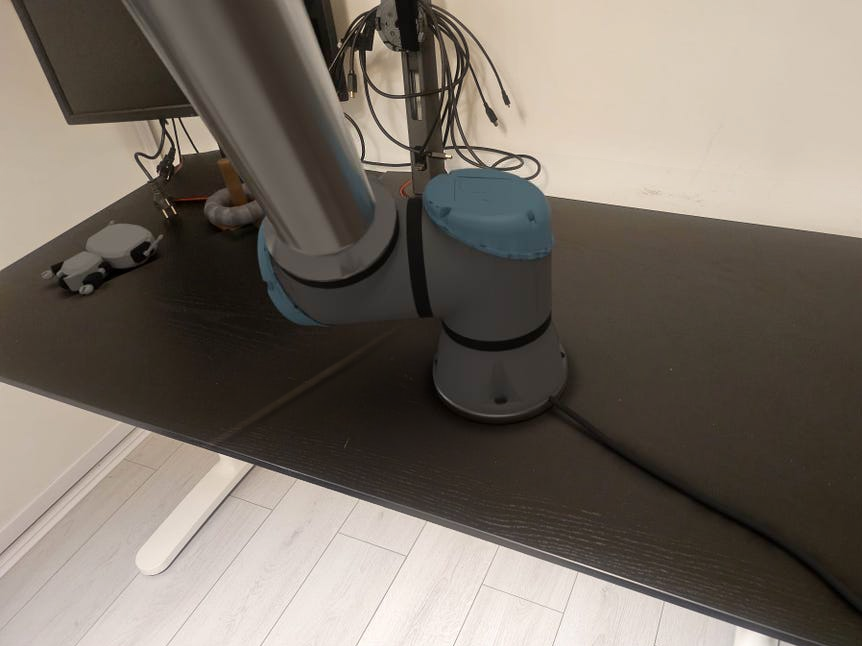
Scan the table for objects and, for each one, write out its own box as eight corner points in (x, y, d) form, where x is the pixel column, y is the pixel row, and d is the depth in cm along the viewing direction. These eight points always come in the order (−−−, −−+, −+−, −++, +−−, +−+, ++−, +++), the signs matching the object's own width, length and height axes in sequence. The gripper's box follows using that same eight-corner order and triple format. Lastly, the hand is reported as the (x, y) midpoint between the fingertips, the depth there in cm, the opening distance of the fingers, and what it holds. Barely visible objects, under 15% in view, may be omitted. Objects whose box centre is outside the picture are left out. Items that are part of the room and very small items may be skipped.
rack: (282, 217, 104) (264, 157, 97) (235, 238, 99) (211, 177, 93) (256, 202, 109) (236, 144, 102) (209, 222, 105) (186, 163, 98)
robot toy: (96, 311, 88) (177, 253, 97) (78, 286, 85) (163, 229, 93) (47, 291, 93) (128, 238, 102) (28, 267, 90) (113, 214, 98)
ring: (291, 208, 103) (286, 192, 101) (228, 236, 97) (222, 219, 95) (257, 190, 109) (252, 174, 107) (196, 215, 104) (189, 198, 102)
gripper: (400, -172, 69) (425, 35, 83) (192, -152, 57) (262, 87, 71) (444, -176, 65) (463, 42, 79) (230, -156, 52) (297, 100, 66)
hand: (368, 64), depth 75 cm, fingers open, 13 cm apart
